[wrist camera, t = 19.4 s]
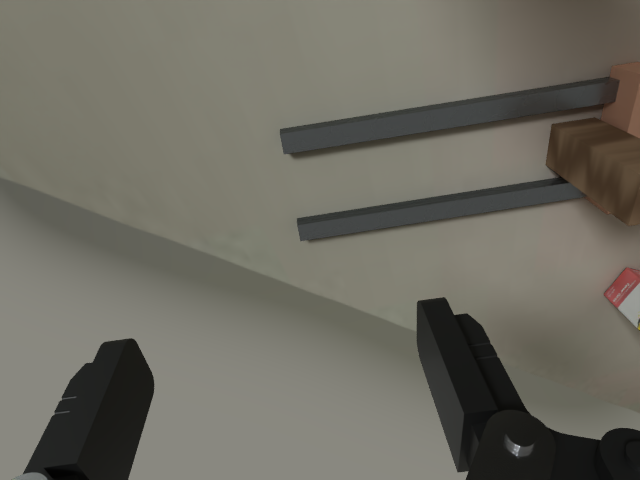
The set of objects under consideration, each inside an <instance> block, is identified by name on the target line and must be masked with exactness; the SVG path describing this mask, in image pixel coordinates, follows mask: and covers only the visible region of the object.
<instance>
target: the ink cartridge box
mask: <svg viewBox="0 0 640 480" xmlns="http://www.w3.org/2000/svg"><path fill="white" fill-rule="evenodd" d="M604 295H605V296H606V297H607V298H608V299H609V301H610V302H611V303H612V304H613V305H614V306H615V307H616V308H617V309H618V310H619V311H620V312H621V313H622V314H624V316H625V317H626V318H627V319H628V320H629V321H630V322H631V323H632V324H633V325H634V326H635V327H636V328H637V329H638V330H639V331H640V271H639V270H635V269H631V268H626V269H625V270H624V271H623V272H622V273H621V274H620V276H619V277H618V278H617V279H616V280H615V282H614V283H613V284H612V285H611V286H610V287H609V289H608V290H607V291H606V292H605V293H604Z"/></svg>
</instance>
